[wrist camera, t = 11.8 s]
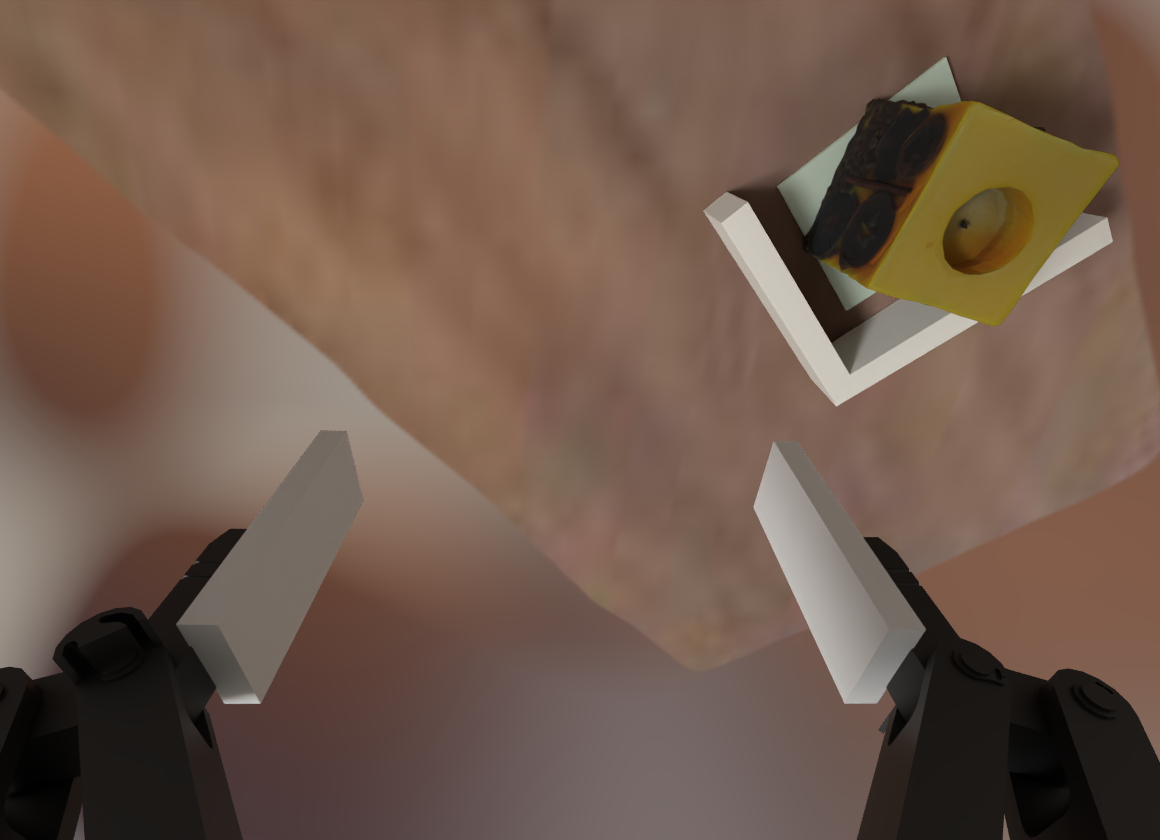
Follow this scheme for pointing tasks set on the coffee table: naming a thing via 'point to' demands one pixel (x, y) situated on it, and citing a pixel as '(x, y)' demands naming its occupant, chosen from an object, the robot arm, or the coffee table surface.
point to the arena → (884, 335)
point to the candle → (952, 205)
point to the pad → (817, 174)
